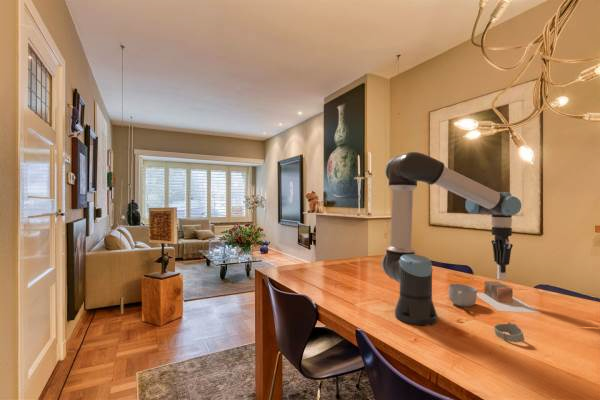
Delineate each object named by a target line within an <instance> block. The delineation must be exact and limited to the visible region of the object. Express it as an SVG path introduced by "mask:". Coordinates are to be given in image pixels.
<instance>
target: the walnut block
mask: <svg viewBox="0 0 600 400" xmlns="http://www.w3.org/2000/svg"><path fill="white" fill-rule="evenodd" d="M484 293H485V294H486V295H487V296H489V297H490V298H492V299H494V300H495V301H497V302H505V303H513V297H514V296H513V288H511V287H509V286H507V285H506V284H503V283H502V282H499V281H492V280H491V281H490V280H489V281H487V280H486V281H485V280H484Z"/></svg>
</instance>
